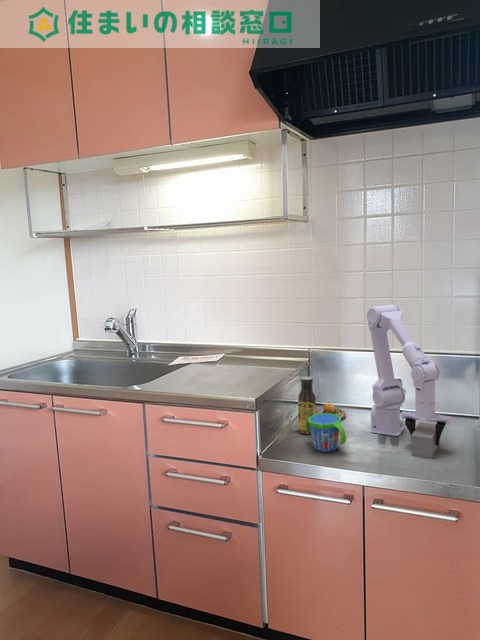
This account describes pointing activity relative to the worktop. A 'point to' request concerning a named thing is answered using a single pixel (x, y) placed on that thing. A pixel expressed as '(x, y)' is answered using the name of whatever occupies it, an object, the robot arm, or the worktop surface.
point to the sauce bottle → (305, 403)
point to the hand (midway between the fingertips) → (425, 442)
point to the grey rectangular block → (424, 440)
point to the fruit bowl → (332, 411)
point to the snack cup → (325, 431)
